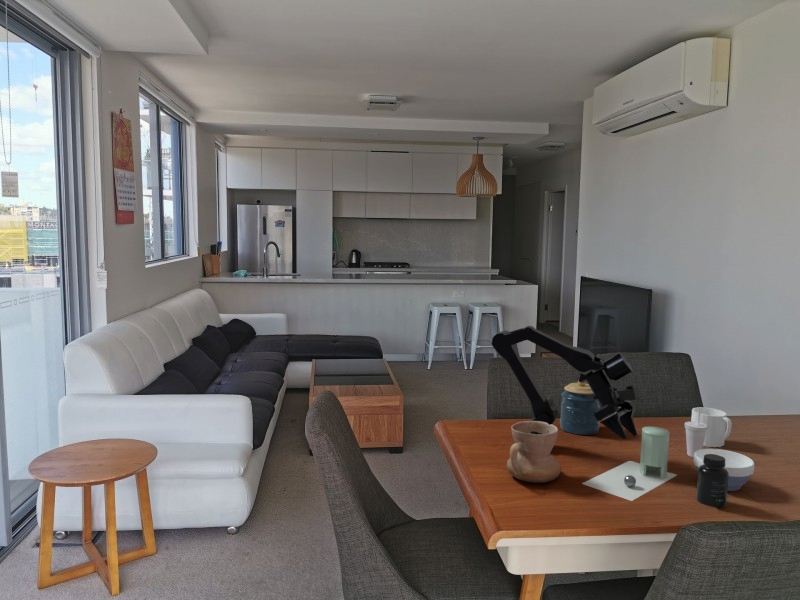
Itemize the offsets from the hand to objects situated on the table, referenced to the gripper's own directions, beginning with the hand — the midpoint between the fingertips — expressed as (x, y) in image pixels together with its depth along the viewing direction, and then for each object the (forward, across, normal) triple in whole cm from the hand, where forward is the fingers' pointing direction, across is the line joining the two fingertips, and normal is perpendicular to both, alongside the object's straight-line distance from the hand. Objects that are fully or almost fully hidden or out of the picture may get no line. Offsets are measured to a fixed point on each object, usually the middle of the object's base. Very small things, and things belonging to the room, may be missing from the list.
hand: (630, 437), depth 178 cm
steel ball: (+10, -14, +1) cm, 18 cm away
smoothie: (+12, +24, -6) cm, 27 cm away
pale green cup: (+11, -1, 0) cm, 11 cm away
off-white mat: (+10, -9, +3) cm, 14 cm away
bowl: (+21, +5, -13) cm, 25 cm away
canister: (-11, +25, +23) cm, 35 cm away
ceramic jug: (-1, -24, +22) cm, 33 cm away
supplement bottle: (+23, -9, -12) cm, 28 cm away
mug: (+11, +39, -8) cm, 42 cm away
